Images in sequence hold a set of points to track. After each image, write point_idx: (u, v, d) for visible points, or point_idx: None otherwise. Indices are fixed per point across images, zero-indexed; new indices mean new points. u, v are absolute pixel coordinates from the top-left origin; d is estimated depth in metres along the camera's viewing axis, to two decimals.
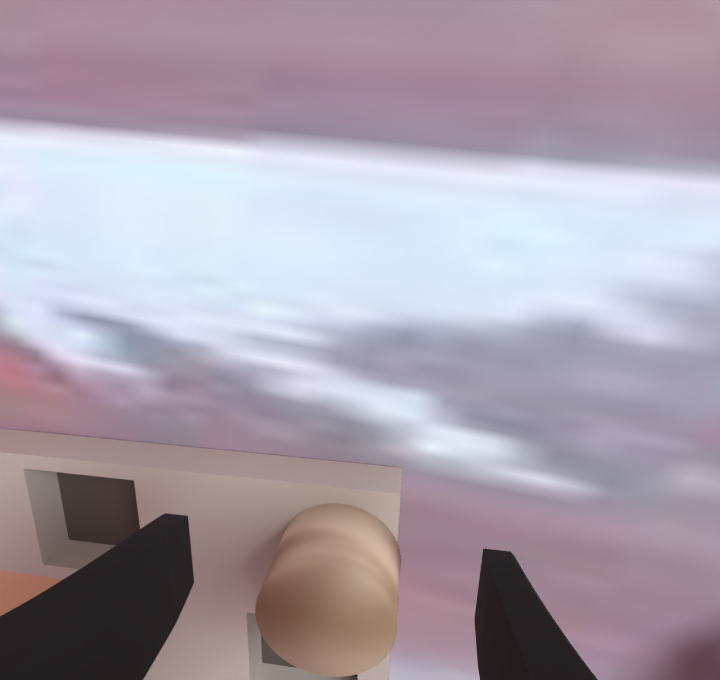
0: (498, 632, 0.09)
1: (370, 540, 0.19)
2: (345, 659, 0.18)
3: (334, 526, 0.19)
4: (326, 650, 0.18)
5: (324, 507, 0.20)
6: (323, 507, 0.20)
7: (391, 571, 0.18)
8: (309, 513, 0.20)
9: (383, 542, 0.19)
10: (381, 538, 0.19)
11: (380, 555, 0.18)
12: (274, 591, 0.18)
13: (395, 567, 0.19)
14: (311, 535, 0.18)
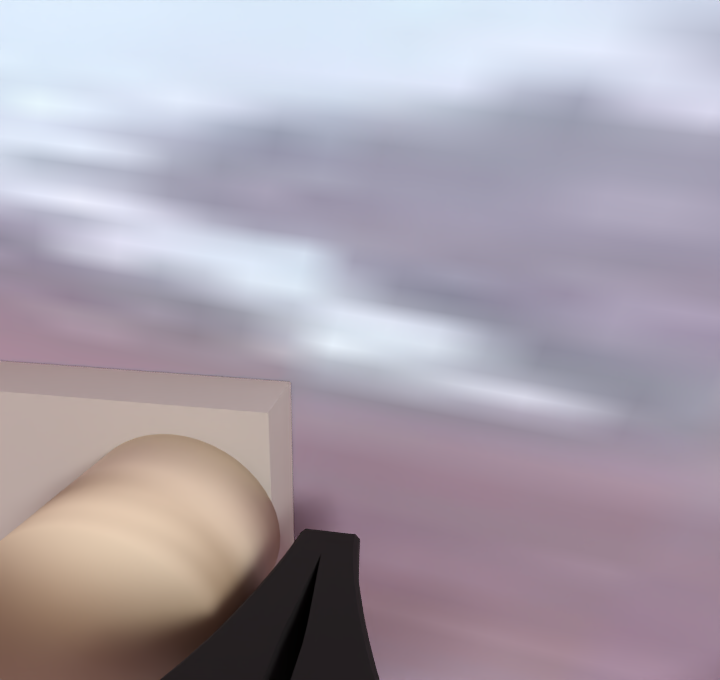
0: None
1: (201, 491, 0.10)
2: None
3: (138, 465, 0.10)
4: None
5: (141, 440, 0.12)
6: (140, 440, 0.12)
7: (235, 547, 0.10)
8: (115, 450, 0.12)
9: (233, 498, 0.11)
10: (231, 490, 0.11)
11: (215, 517, 0.10)
12: None
13: (252, 541, 0.11)
14: (88, 481, 0.10)
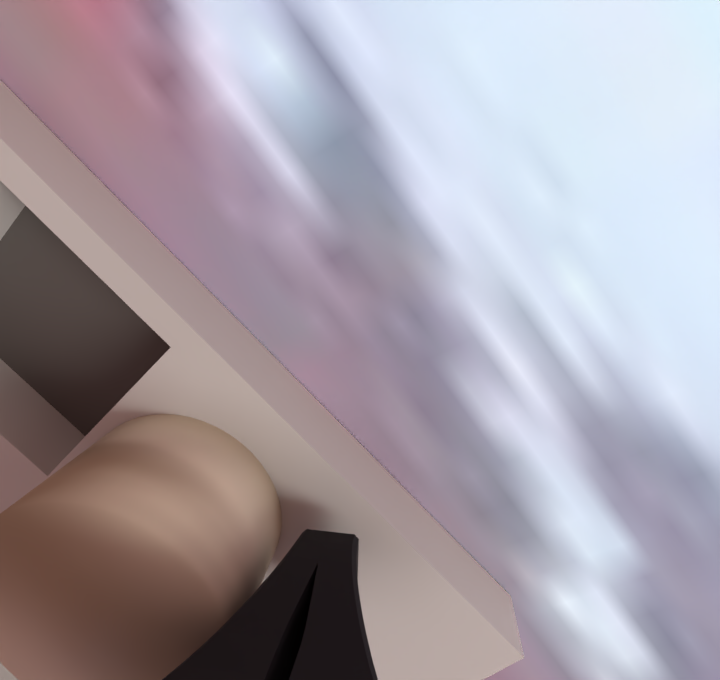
0: None
1: (259, 544, 0.10)
2: None
3: (227, 486, 0.10)
4: (55, 655, 0.09)
5: (226, 441, 0.11)
6: (224, 438, 0.11)
7: None
8: (197, 431, 0.11)
9: (268, 555, 0.11)
10: (269, 545, 0.11)
11: (257, 577, 0.10)
12: (52, 523, 0.08)
13: None
14: (185, 477, 0.10)
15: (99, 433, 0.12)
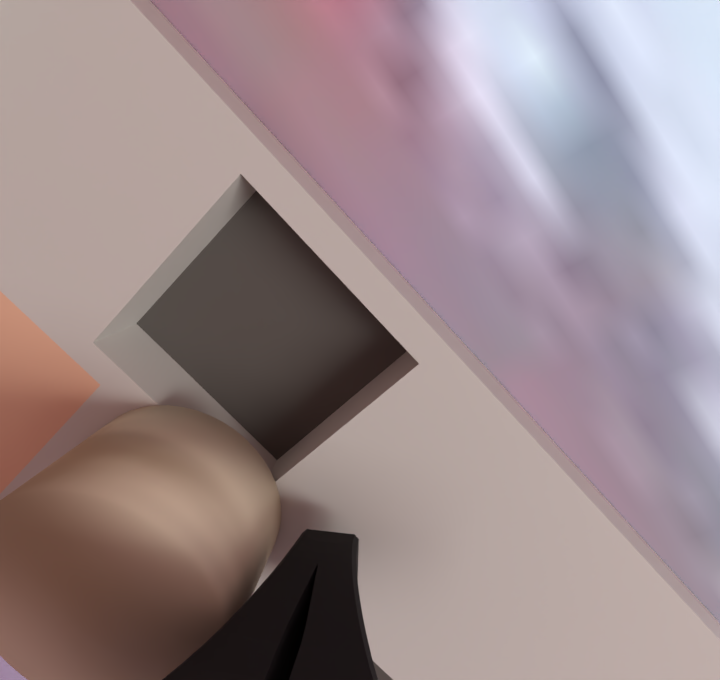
0: None
1: (260, 542, 0.10)
2: (67, 673, 0.10)
3: (232, 483, 0.10)
4: (49, 642, 0.09)
5: (231, 436, 0.11)
6: (229, 434, 0.11)
7: None
8: (203, 424, 0.11)
9: (267, 553, 0.11)
10: (268, 543, 0.11)
11: (255, 575, 0.10)
12: (57, 511, 0.08)
13: None
14: (191, 471, 0.10)
15: (322, 453, 0.11)
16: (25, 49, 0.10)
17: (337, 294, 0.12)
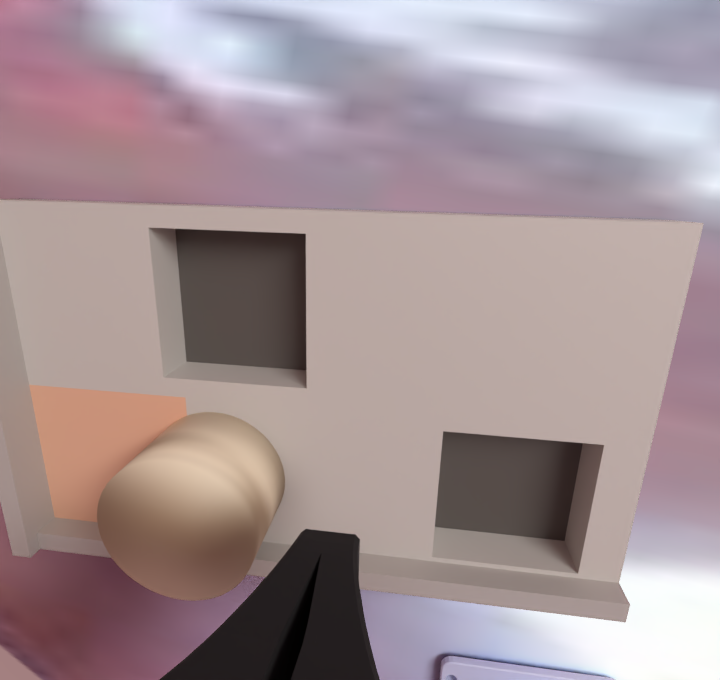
0: None
1: (243, 451, 0.16)
2: (197, 580, 0.16)
3: (204, 431, 0.16)
4: (175, 568, 0.16)
5: (202, 415, 0.18)
6: (201, 414, 0.18)
7: (261, 487, 0.16)
8: (184, 419, 0.18)
9: (261, 457, 0.17)
10: (259, 453, 0.17)
11: (251, 467, 0.16)
12: (118, 492, 0.15)
13: (270, 485, 0.17)
14: (175, 437, 0.16)
15: (312, 330, 0.16)
16: (29, 265, 0.17)
17: (257, 248, 0.18)
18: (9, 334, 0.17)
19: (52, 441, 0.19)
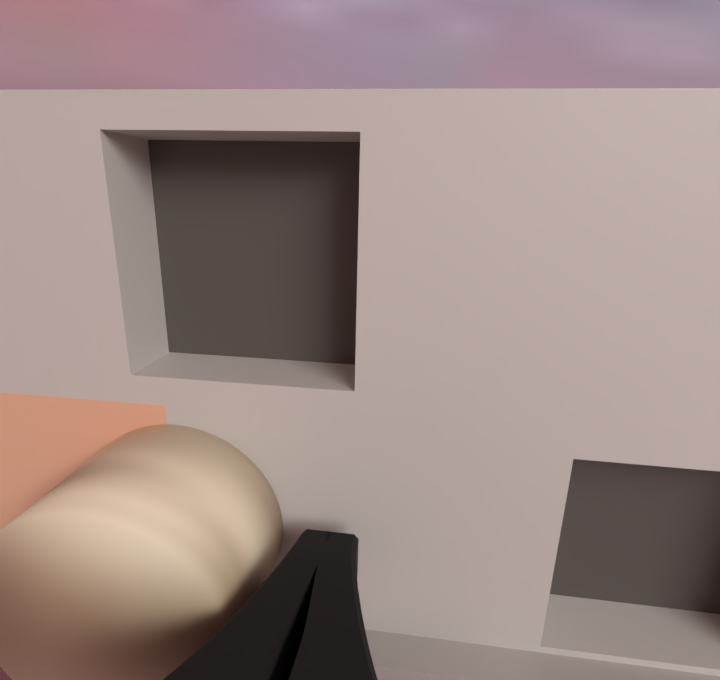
0: None
1: (216, 489, 0.10)
2: None
3: (154, 456, 0.10)
4: None
5: (156, 430, 0.11)
6: (154, 429, 0.11)
7: (245, 549, 0.10)
8: (127, 437, 0.11)
9: (245, 498, 0.11)
10: (243, 490, 0.11)
11: (229, 517, 0.10)
12: (1, 564, 0.09)
13: (260, 543, 0.11)
14: (104, 468, 0.10)
15: (366, 296, 0.10)
16: None
17: (275, 174, 0.11)
18: None
19: None
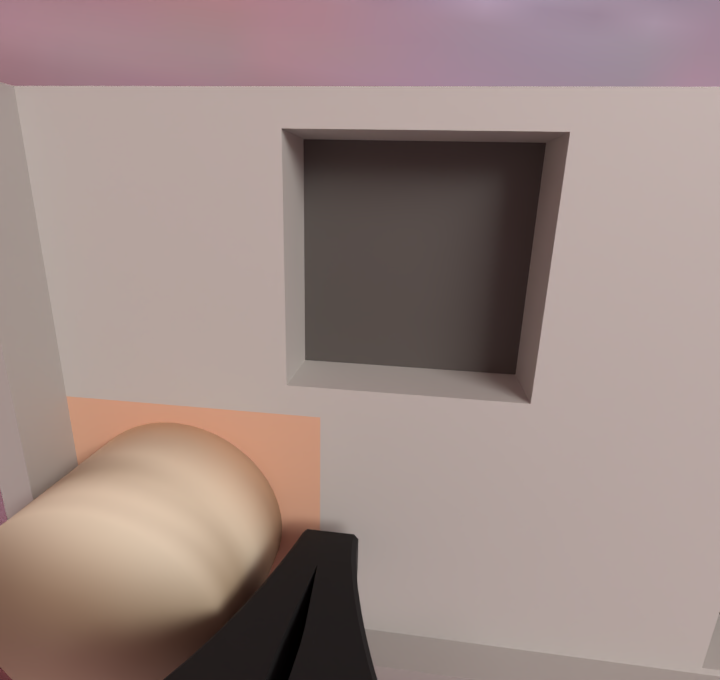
0: None
1: (216, 488, 0.10)
2: None
3: (154, 455, 0.10)
4: None
5: (156, 427, 0.11)
6: (154, 427, 0.11)
7: (244, 548, 0.10)
8: (127, 434, 0.11)
9: (245, 497, 0.11)
10: (243, 489, 0.11)
11: (228, 517, 0.10)
12: None
13: (259, 543, 0.11)
14: (104, 466, 0.10)
15: (555, 305, 0.10)
16: (72, 199, 0.10)
17: (438, 176, 0.11)
18: (38, 315, 0.11)
19: None
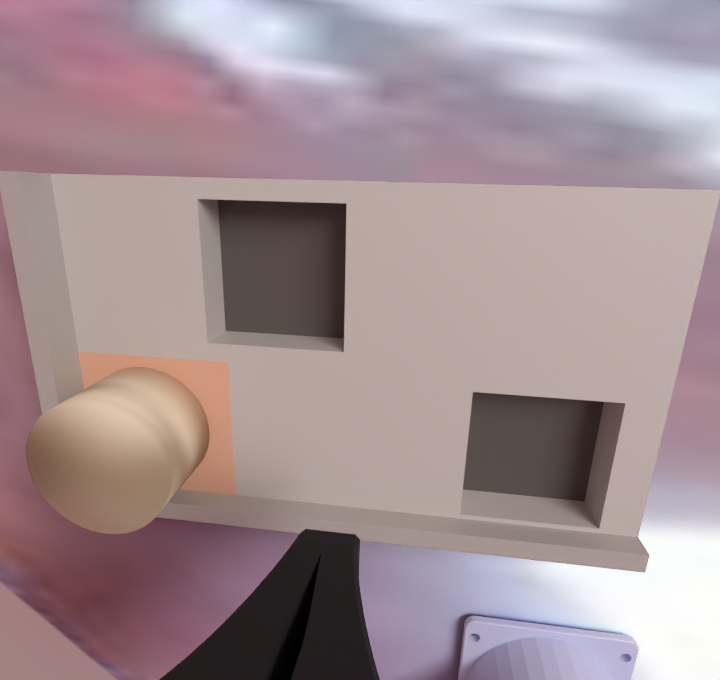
0: None
1: (164, 400, 0.18)
2: (117, 514, 0.17)
3: (129, 381, 0.18)
4: (97, 503, 0.17)
5: (132, 369, 0.19)
6: (131, 369, 0.19)
7: (179, 432, 0.18)
8: (115, 373, 0.19)
9: (182, 407, 0.18)
10: (182, 403, 0.19)
11: (170, 414, 0.18)
12: (45, 431, 0.17)
13: (190, 433, 0.18)
14: (101, 385, 0.18)
15: (350, 295, 0.17)
16: (83, 235, 0.18)
17: (296, 221, 0.19)
18: (62, 302, 0.19)
19: None
